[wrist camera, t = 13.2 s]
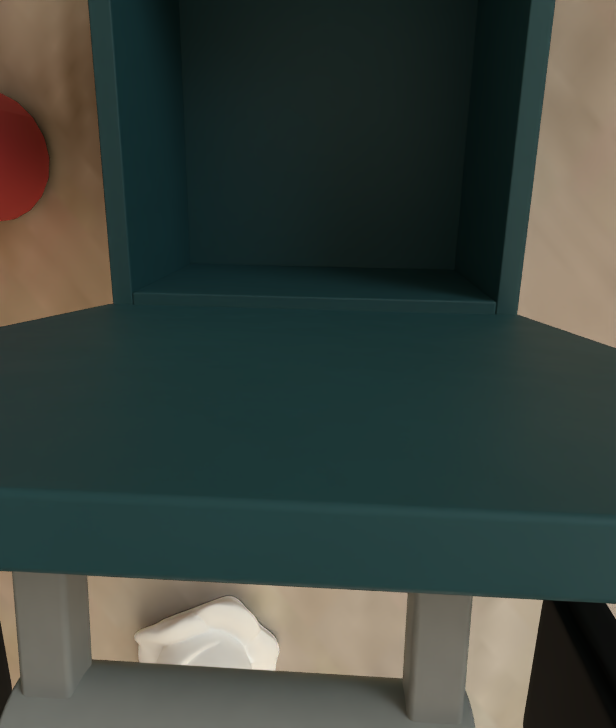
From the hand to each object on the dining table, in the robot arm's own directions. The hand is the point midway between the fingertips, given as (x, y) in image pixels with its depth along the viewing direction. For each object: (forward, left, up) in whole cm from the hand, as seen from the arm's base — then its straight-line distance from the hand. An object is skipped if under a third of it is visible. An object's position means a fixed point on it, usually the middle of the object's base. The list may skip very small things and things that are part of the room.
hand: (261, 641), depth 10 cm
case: (-7, +8, -24) cm, 26 cm away
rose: (+9, -22, -24) cm, 34 cm away
